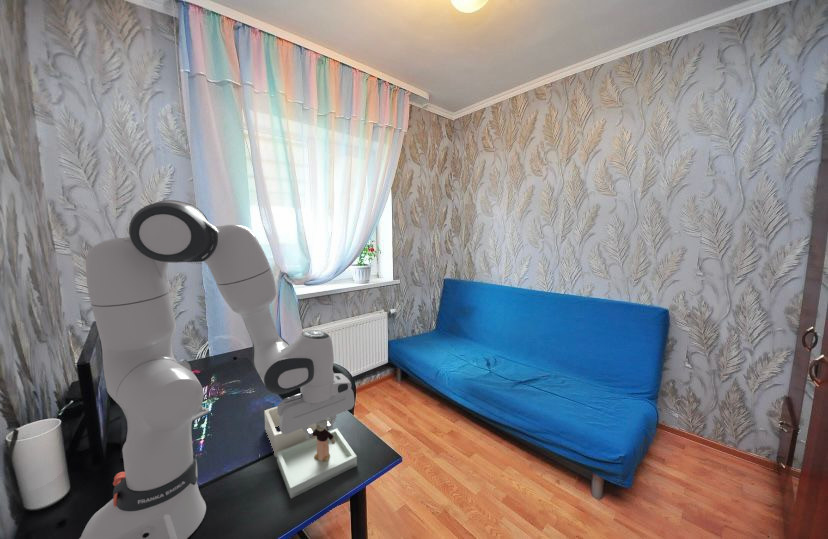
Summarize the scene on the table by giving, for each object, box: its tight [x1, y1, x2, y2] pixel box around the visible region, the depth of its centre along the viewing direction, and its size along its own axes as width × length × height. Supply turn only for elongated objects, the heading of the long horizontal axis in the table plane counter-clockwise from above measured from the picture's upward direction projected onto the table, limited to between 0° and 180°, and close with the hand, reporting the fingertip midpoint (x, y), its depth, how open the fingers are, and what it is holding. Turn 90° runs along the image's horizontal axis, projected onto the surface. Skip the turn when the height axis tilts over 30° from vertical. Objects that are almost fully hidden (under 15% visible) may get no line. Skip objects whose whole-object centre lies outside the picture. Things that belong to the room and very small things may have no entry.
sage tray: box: [276, 428, 358, 499], centre depth 85 cm, size 18×14×3 cm
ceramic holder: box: [263, 405, 330, 458], centre depth 96 cm, size 16×14×7 cm
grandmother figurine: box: [312, 419, 335, 462], centre depth 84 cm, size 8×4×13 cm, turn 83°
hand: (319, 432), depth 84 cm, fingers open, 4 cm apart
